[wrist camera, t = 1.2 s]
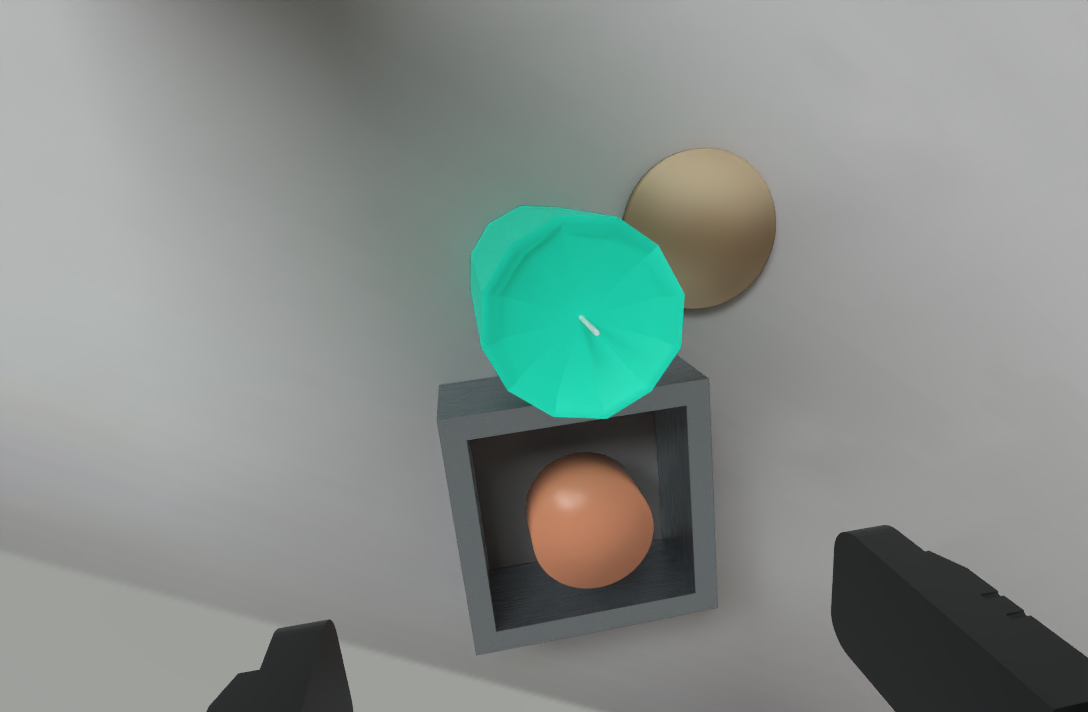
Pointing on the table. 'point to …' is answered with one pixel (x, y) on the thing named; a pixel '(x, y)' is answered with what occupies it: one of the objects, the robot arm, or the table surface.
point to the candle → (574, 309)
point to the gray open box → (527, 590)
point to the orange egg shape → (588, 520)
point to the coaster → (706, 221)
